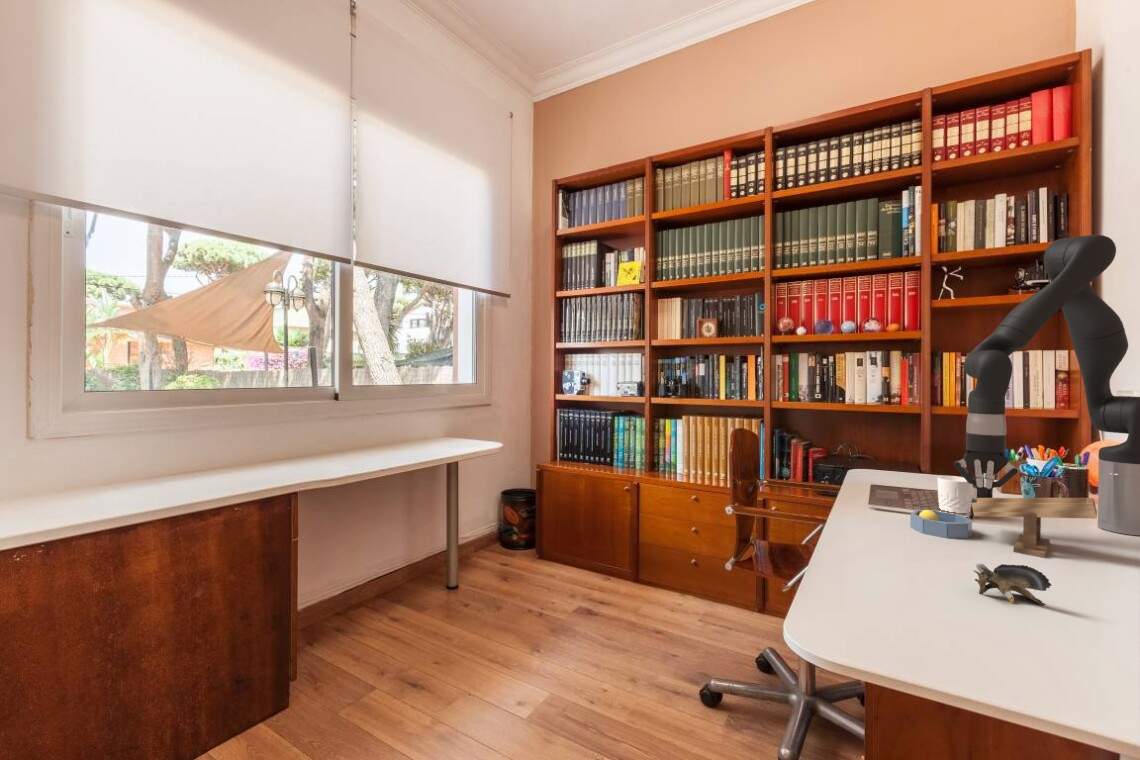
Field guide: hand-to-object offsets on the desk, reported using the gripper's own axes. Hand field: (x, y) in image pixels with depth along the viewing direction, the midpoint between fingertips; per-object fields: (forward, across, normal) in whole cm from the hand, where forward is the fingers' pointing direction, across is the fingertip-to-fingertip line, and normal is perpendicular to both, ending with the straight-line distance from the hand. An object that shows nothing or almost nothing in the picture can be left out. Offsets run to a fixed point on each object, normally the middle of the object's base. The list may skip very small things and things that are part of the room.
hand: (984, 502), depth 124 cm
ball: (+5, -10, -6) cm, 13 cm away
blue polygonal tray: (+7, -8, -6) cm, 12 cm away
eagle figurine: (+8, +9, -44) cm, 46 cm away
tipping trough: (0, +9, -3) cm, 10 cm away
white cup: (+8, -8, +14) cm, 18 cm away
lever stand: (+7, +9, -6) cm, 13 cm away
